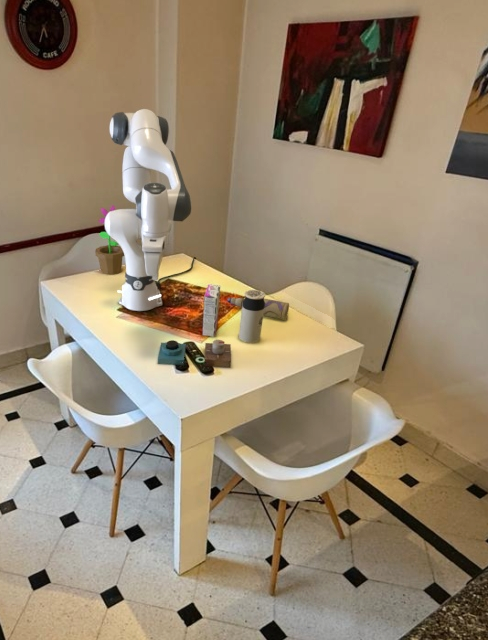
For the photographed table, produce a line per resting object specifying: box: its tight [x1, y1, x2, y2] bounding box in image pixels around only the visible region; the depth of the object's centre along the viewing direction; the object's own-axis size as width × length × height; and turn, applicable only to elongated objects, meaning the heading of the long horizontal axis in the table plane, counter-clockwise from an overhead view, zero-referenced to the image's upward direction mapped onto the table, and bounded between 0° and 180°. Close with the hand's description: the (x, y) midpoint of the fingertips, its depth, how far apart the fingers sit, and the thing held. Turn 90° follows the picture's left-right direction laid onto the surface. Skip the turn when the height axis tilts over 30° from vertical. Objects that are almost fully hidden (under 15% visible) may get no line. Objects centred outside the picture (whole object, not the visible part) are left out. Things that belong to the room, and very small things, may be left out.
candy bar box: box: [201, 284, 221, 338], centre depth 174 cm, size 11×5×16 cm, turn 168°
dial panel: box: [203, 342, 232, 369], centre depth 161 cm, size 11×9×3 cm
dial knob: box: [212, 339, 226, 354], centre depth 159 cm, size 4×4×4 cm
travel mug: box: [238, 289, 266, 344], centre depth 169 cm, size 8×8×18 cm
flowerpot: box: [94, 204, 125, 275], centre depth 219 cm, size 14×14×30 cm
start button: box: [166, 339, 179, 350], centre depth 160 cm, size 4×4×2 cm
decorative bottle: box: [226, 297, 290, 320], centre depth 190 cm, size 26×8×7 cm, turn 63°
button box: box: [157, 341, 187, 366], centre depth 162 cm, size 11×9×4 cm
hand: (155, 278), depth 158 cm, fingers closed
